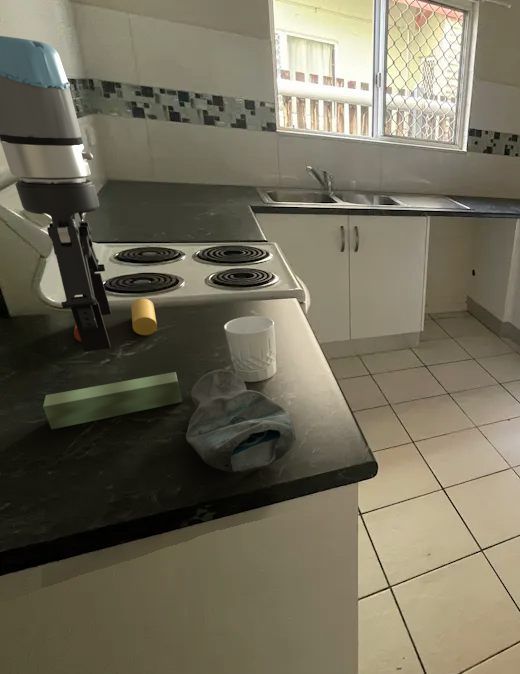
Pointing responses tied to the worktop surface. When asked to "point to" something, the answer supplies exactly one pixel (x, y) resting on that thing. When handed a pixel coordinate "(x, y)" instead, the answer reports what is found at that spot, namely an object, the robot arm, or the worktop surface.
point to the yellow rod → (143, 317)
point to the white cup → (252, 347)
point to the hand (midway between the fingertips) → (99, 330)
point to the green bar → (111, 400)
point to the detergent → (237, 424)
